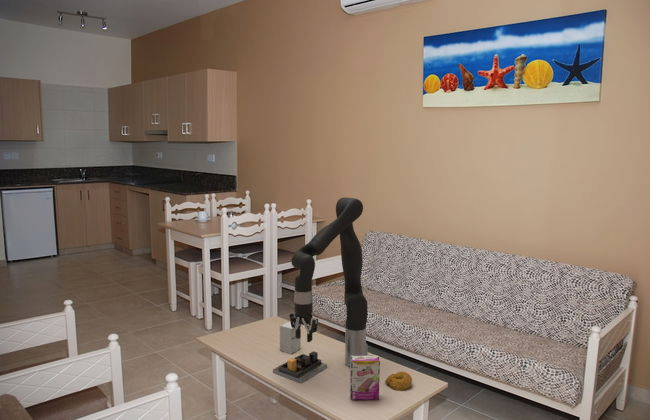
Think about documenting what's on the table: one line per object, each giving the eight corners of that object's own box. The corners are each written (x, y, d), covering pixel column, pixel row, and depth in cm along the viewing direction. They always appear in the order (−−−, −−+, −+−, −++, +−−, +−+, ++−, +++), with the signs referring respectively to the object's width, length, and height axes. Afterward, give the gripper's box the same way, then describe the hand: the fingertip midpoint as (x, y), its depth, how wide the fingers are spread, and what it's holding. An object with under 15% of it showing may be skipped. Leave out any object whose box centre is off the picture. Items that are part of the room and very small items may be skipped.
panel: (272, 372, 215) (272, 358, 214) (299, 358, 229) (299, 344, 228) (301, 383, 205) (301, 367, 204) (327, 367, 219) (327, 353, 218)
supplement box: (291, 354, 233) (290, 328, 231) (279, 350, 237) (279, 325, 236) (301, 349, 239) (301, 324, 237) (289, 345, 243) (289, 320, 242)
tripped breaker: (287, 371, 212) (287, 360, 211) (292, 369, 214) (292, 358, 214) (291, 373, 210) (291, 361, 210) (296, 370, 213) (296, 359, 212)
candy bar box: (350, 401, 191) (351, 360, 189) (349, 394, 196) (349, 355, 194) (379, 400, 191) (380, 360, 189) (377, 393, 196) (378, 354, 194)
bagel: (389, 377, 210) (390, 366, 210) (415, 382, 205) (415, 372, 205) (381, 387, 202) (381, 376, 201) (407, 394, 197) (408, 382, 196)
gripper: (322, 301, 203) (323, 341, 205) (296, 295, 211) (296, 333, 213) (311, 306, 197) (311, 347, 199) (284, 299, 205) (284, 338, 207)
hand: (303, 339), depth 206 cm, fingers open, 5 cm apart
